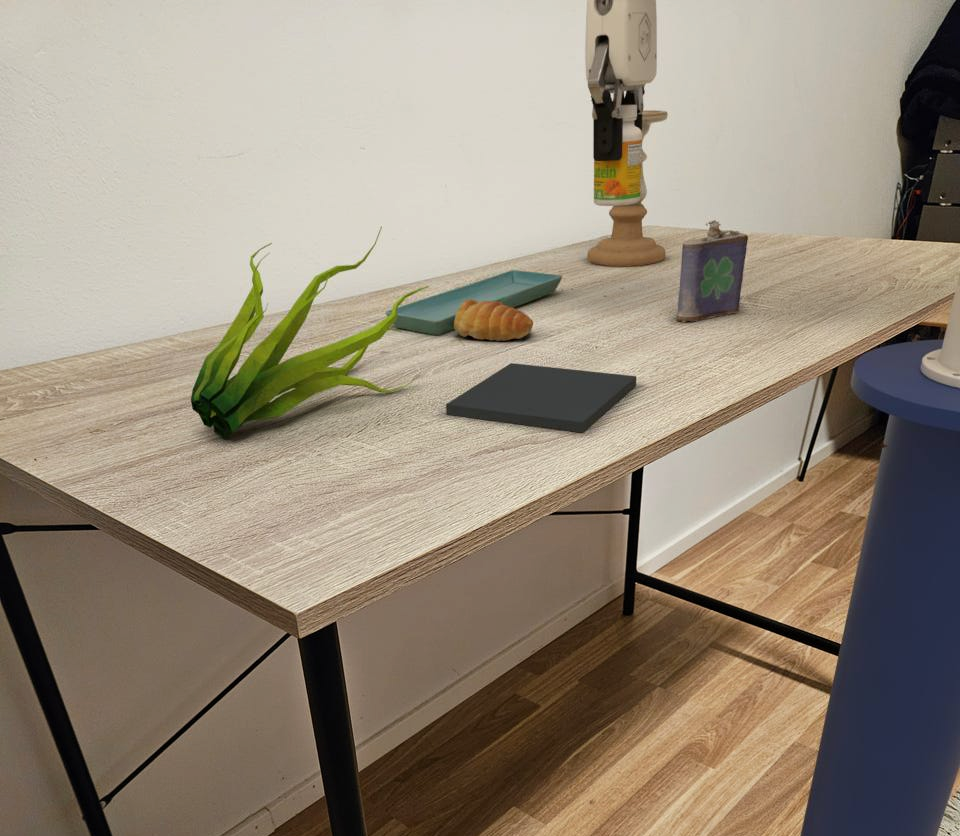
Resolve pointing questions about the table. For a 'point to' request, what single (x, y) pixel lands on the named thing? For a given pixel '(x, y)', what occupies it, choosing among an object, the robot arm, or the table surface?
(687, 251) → the flask
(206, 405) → the decorative plant
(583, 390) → the mat
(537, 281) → the teal serving tray
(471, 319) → the pastry
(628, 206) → the candle holder
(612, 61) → the robot arm
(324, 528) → the table surface
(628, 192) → the supplement bottle
